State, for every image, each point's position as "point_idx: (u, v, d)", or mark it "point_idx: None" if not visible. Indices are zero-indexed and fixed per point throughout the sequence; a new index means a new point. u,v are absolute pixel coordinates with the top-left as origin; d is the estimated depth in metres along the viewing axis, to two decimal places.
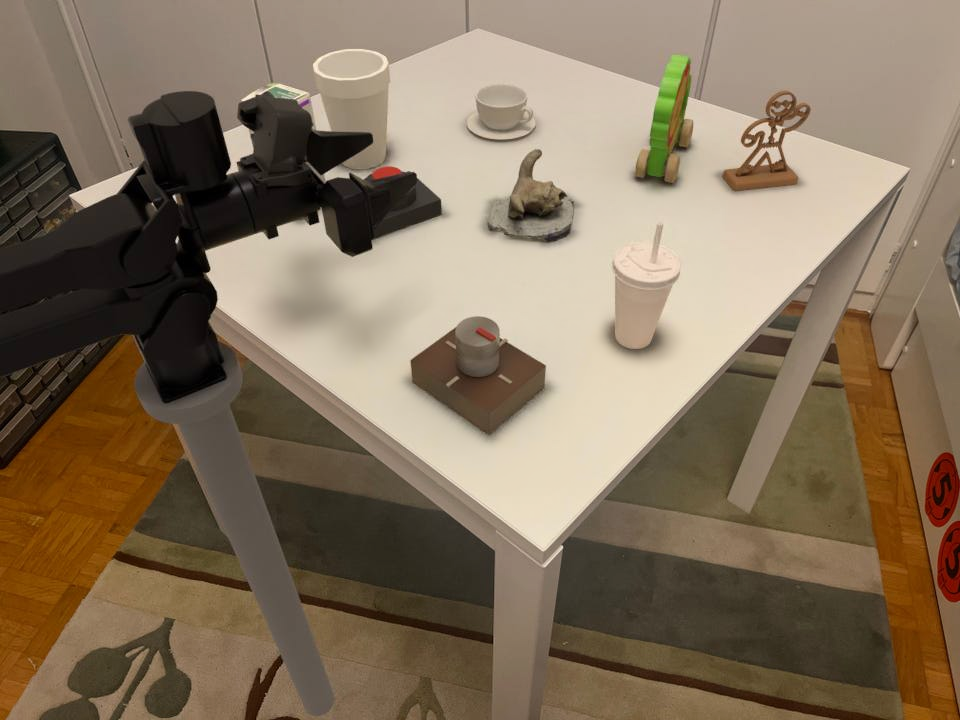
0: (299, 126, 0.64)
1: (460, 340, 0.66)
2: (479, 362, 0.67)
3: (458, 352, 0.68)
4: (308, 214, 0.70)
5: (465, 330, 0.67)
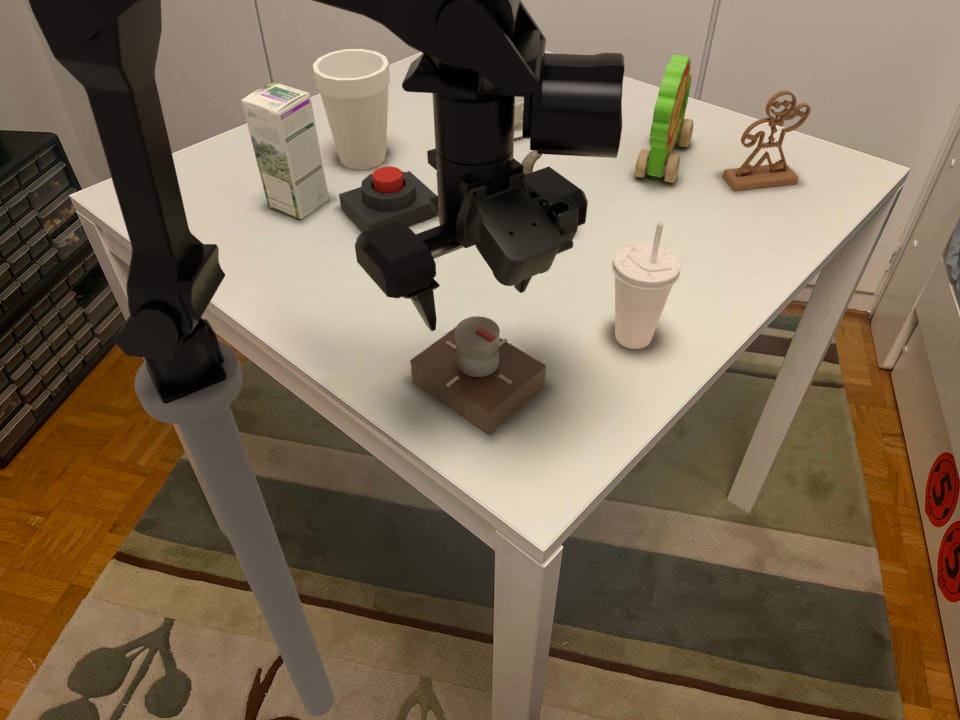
0: (499, 271, 0.53)
1: (460, 340, 0.66)
2: (479, 362, 0.67)
3: (458, 352, 0.68)
4: (438, 205, 0.58)
5: (465, 330, 0.67)
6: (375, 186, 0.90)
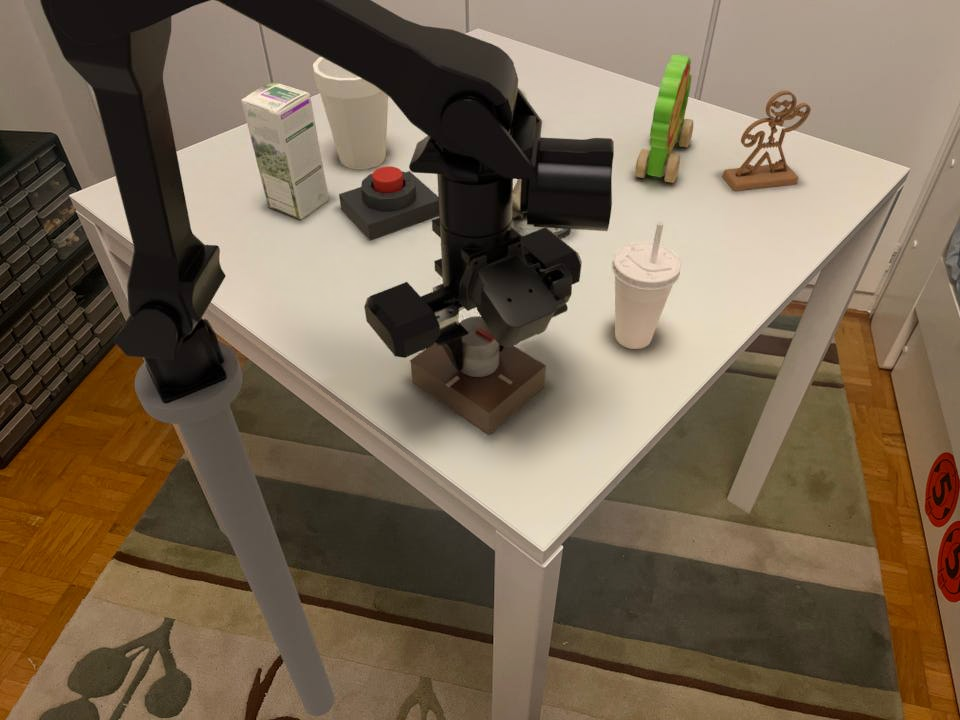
0: (499, 334, 0.58)
1: None
2: (479, 362, 0.67)
3: None
4: (442, 268, 0.62)
5: None
6: (375, 186, 0.90)
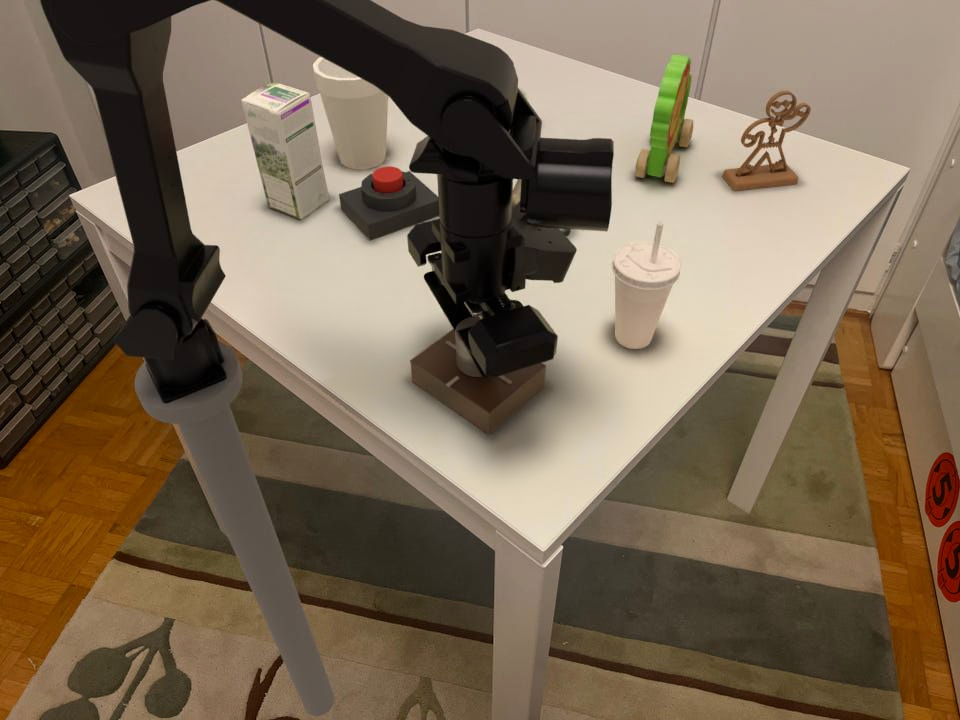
0: (563, 271, 0.63)
1: None
2: None
3: None
4: (468, 291, 0.60)
5: None
6: (375, 186, 0.90)
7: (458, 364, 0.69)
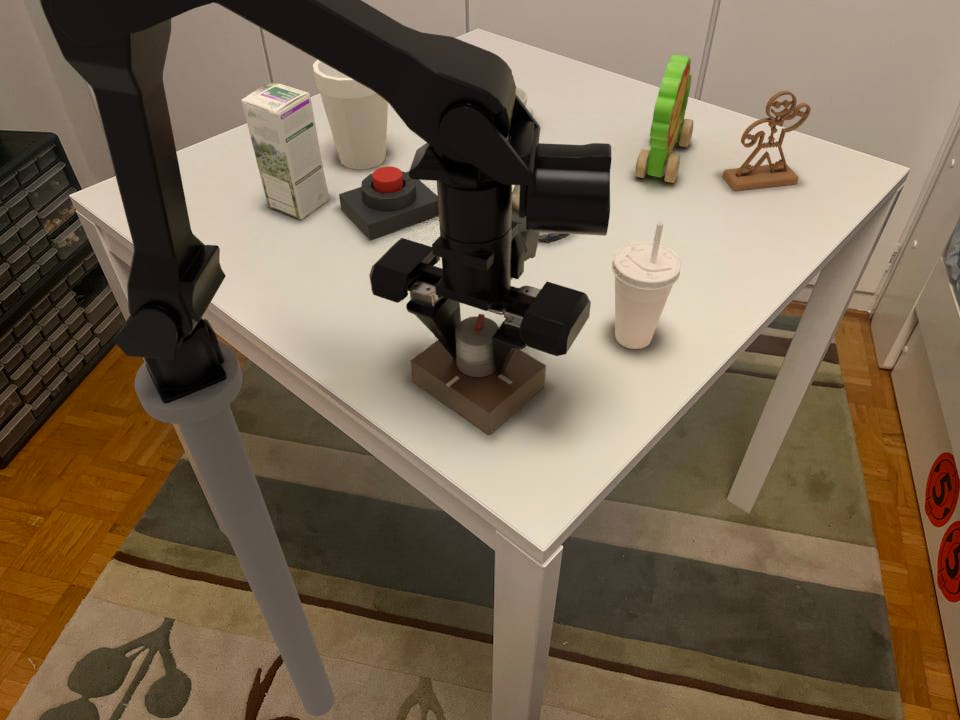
0: None
1: None
2: None
3: None
4: (492, 294, 0.61)
5: (483, 337, 0.66)
6: (375, 186, 0.90)
7: (468, 371, 0.68)
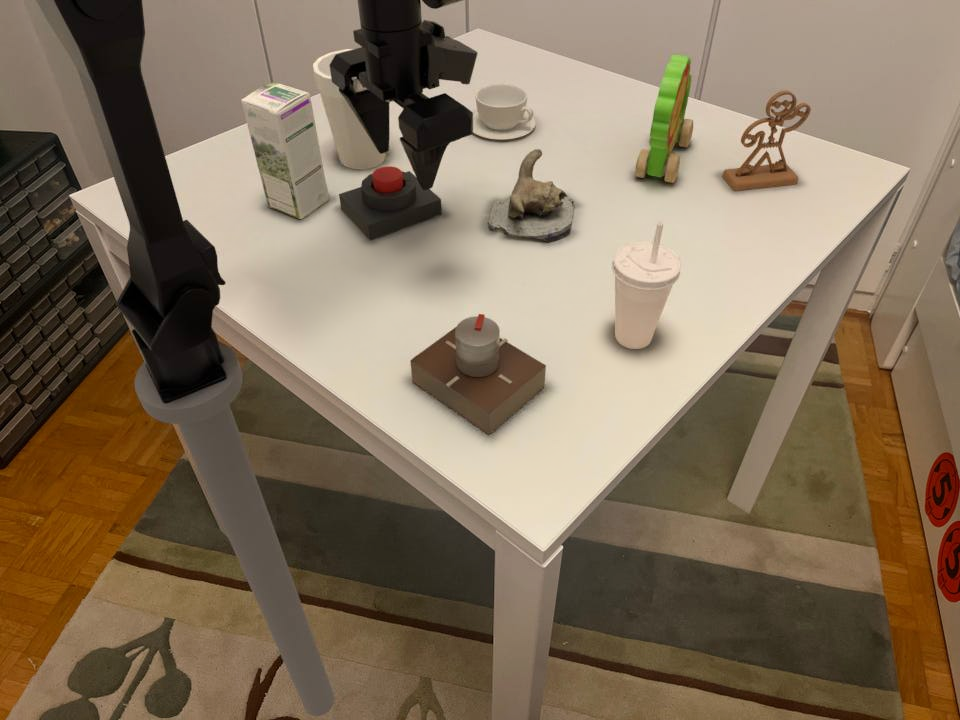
0: (469, 72, 0.75)
1: (498, 336, 0.67)
2: None
3: (496, 352, 0.68)
4: (392, 88, 0.71)
5: (483, 337, 0.66)
6: (375, 186, 0.90)
7: (468, 371, 0.68)
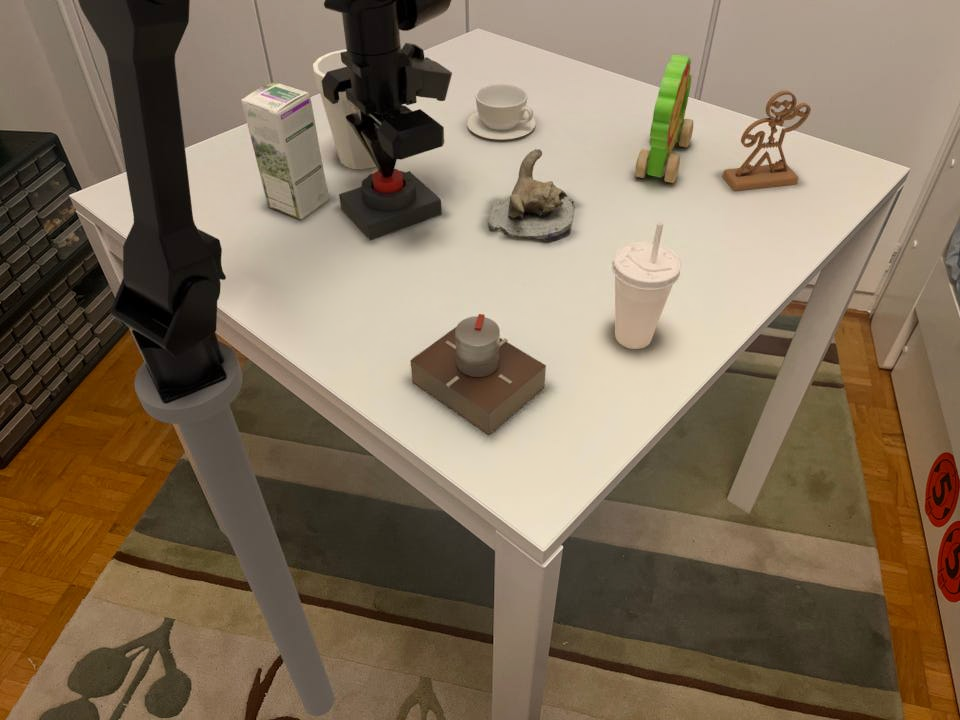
0: (444, 90, 0.84)
1: (498, 336, 0.67)
2: None
3: (496, 352, 0.68)
4: (374, 103, 0.80)
5: (483, 337, 0.66)
6: (375, 188, 0.90)
7: (468, 371, 0.68)
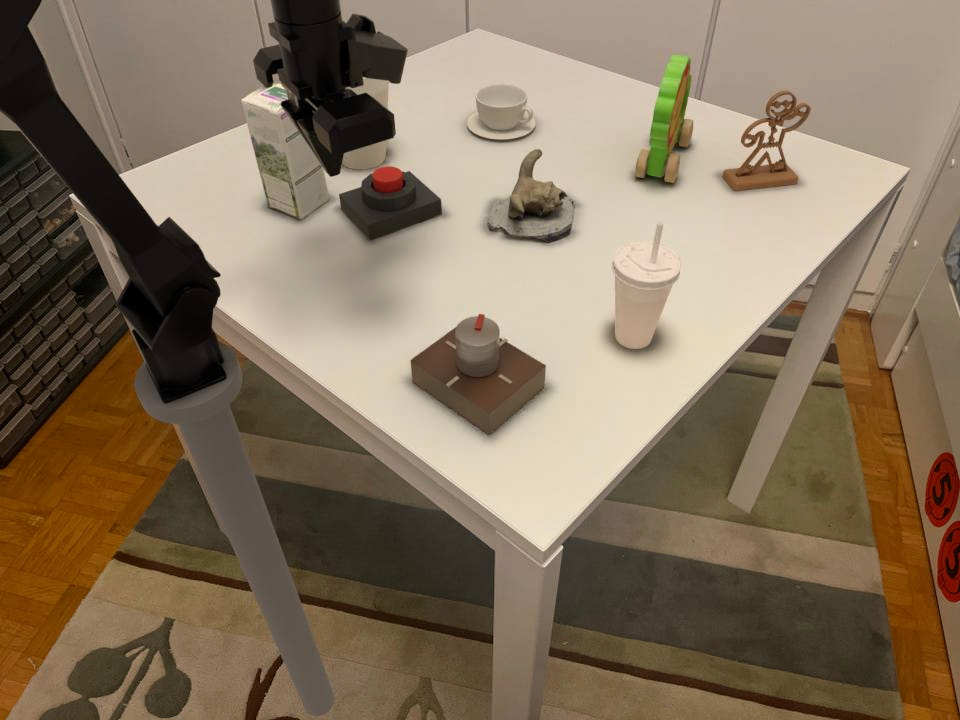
0: (398, 71, 0.69)
1: (498, 336, 0.67)
2: None
3: (496, 352, 0.68)
4: (310, 86, 0.66)
5: (483, 337, 0.66)
6: (375, 186, 0.90)
7: (468, 371, 0.68)
